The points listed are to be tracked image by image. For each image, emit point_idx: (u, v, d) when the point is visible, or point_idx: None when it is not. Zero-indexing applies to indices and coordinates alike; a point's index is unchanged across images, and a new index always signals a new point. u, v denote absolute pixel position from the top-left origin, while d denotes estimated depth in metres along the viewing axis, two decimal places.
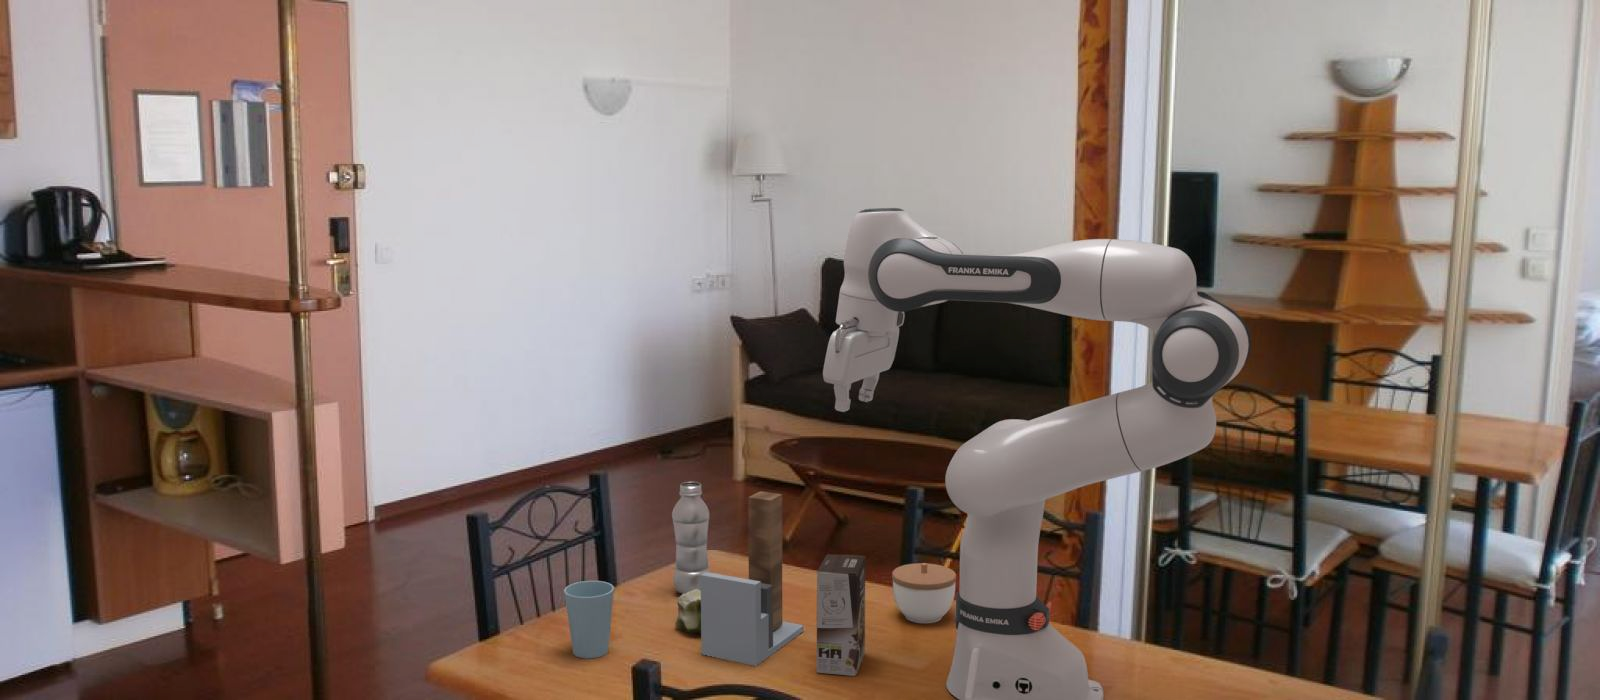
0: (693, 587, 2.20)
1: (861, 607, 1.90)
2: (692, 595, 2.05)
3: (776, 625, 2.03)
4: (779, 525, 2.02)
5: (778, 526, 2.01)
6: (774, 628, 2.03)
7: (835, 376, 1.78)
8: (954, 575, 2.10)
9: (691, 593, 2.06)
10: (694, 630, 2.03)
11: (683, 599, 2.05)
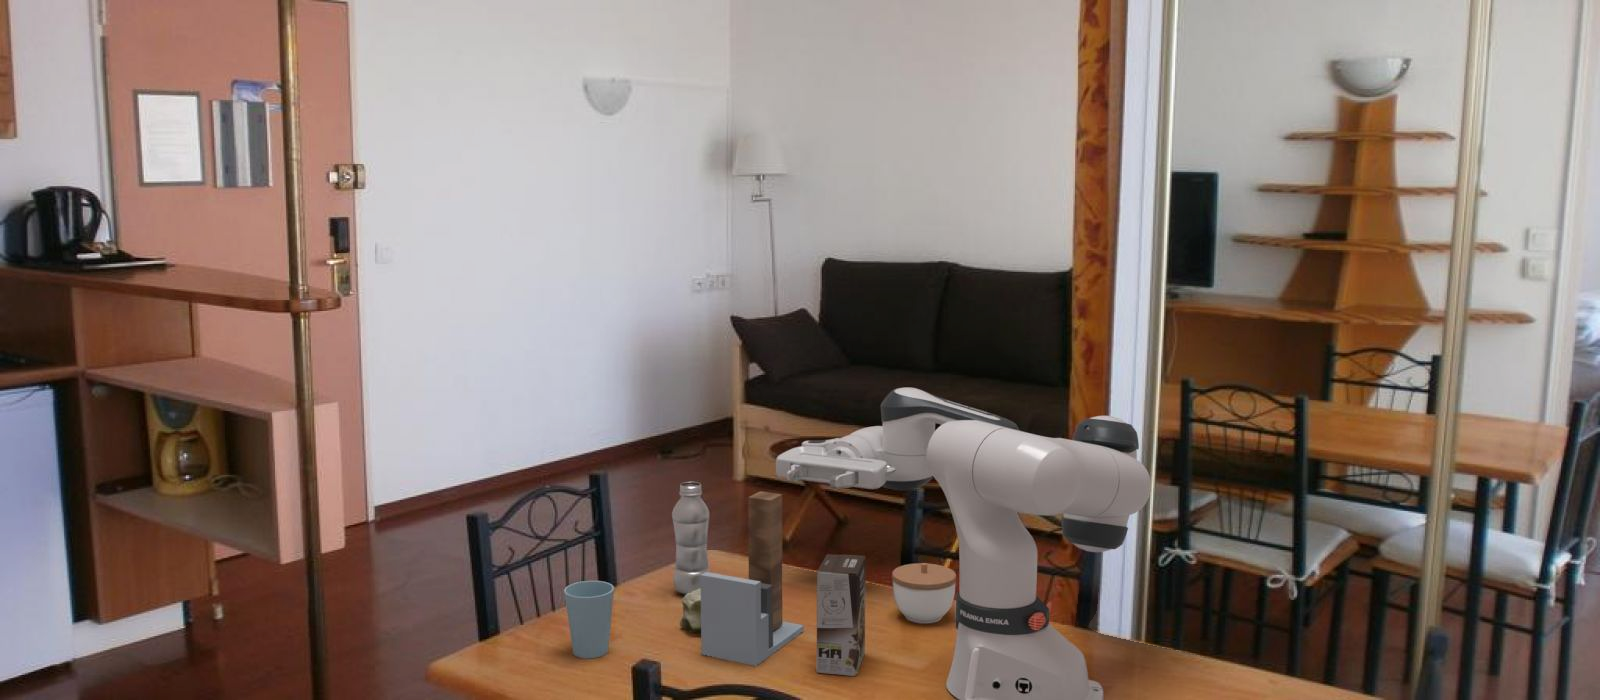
0: (693, 587, 2.20)
1: (861, 607, 1.90)
2: (697, 594, 2.05)
3: (776, 625, 2.03)
4: (779, 525, 2.02)
5: (778, 526, 2.01)
6: (774, 628, 2.03)
7: (879, 480, 2.16)
8: (954, 575, 2.10)
9: (696, 592, 2.06)
10: (699, 629, 2.03)
11: (688, 598, 2.06)
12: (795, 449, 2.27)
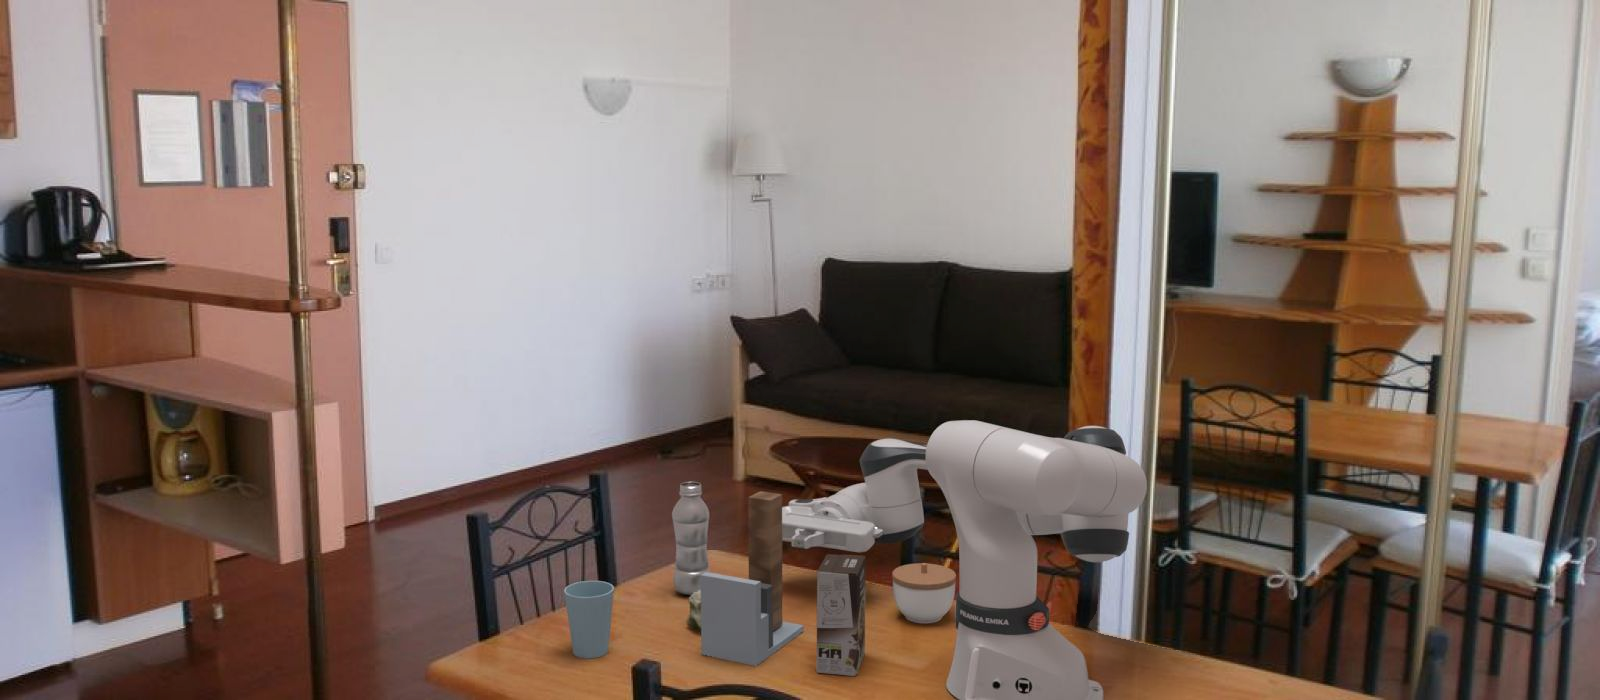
0: (693, 587, 2.20)
1: (861, 607, 1.90)
2: None
3: (776, 625, 2.03)
4: (779, 525, 2.02)
5: (778, 526, 2.01)
6: (774, 628, 2.03)
7: (867, 544, 2.14)
8: (954, 575, 2.10)
9: None
10: None
11: (695, 597, 2.06)
12: (782, 509, 2.25)
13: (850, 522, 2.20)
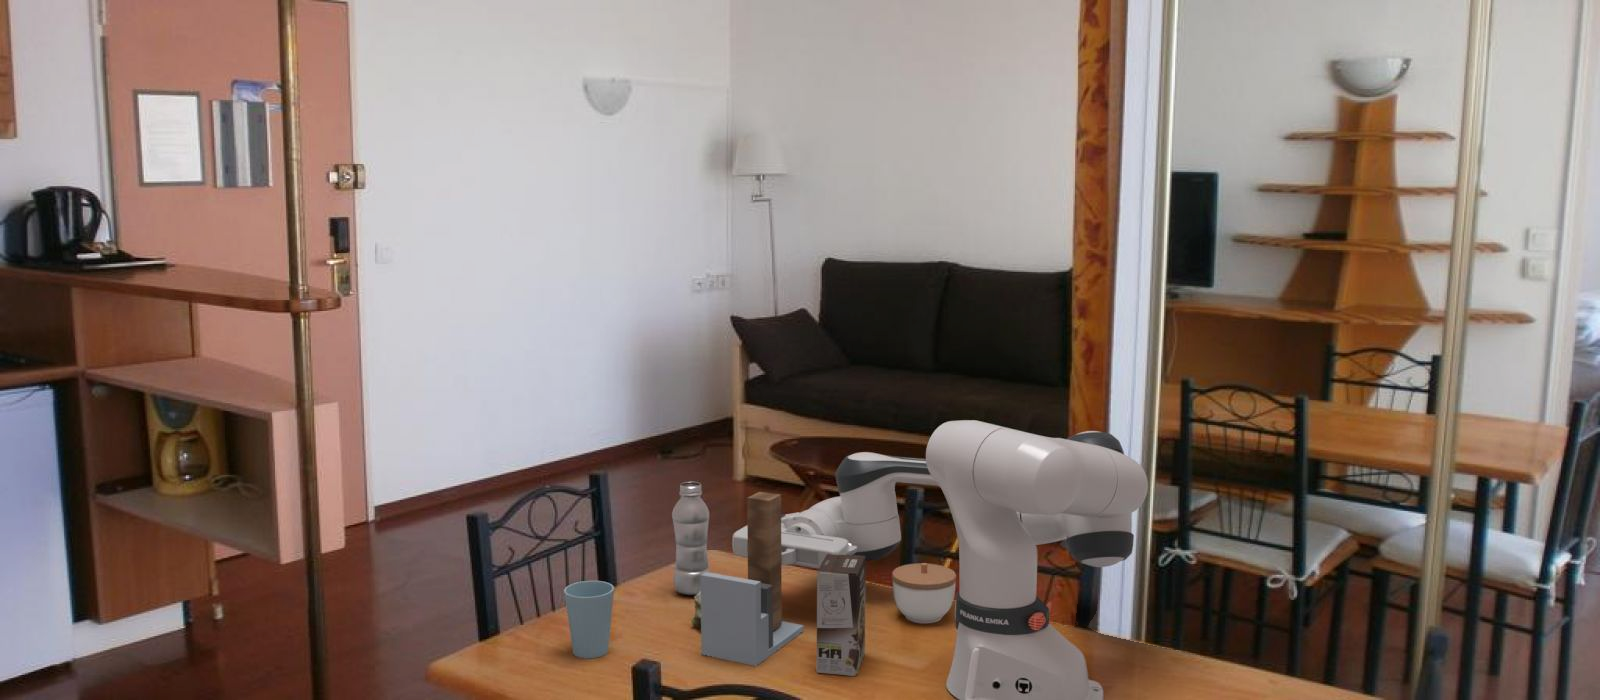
0: (693, 587, 2.20)
1: (861, 607, 1.90)
2: None
3: (775, 625, 2.03)
4: (778, 525, 2.01)
5: (778, 527, 2.01)
6: (773, 629, 2.02)
7: None
8: (954, 575, 2.10)
9: None
10: None
11: (700, 597, 2.06)
12: None
13: (823, 539, 2.11)
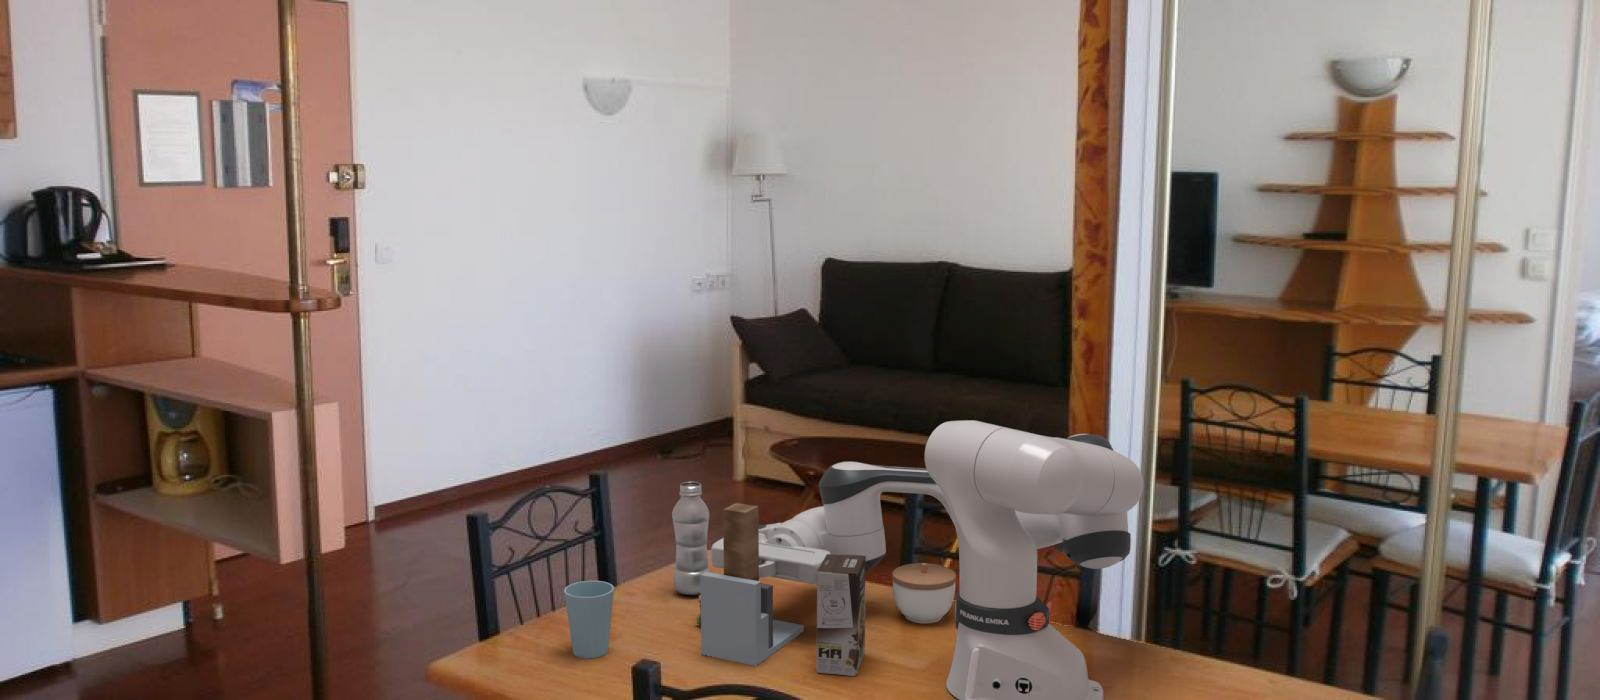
0: (693, 587, 2.20)
1: (861, 607, 1.90)
2: None
3: None
4: (755, 538, 1.95)
5: (755, 539, 1.95)
6: None
7: None
8: (954, 575, 2.10)
9: None
10: None
11: None
12: None
13: (804, 550, 2.04)
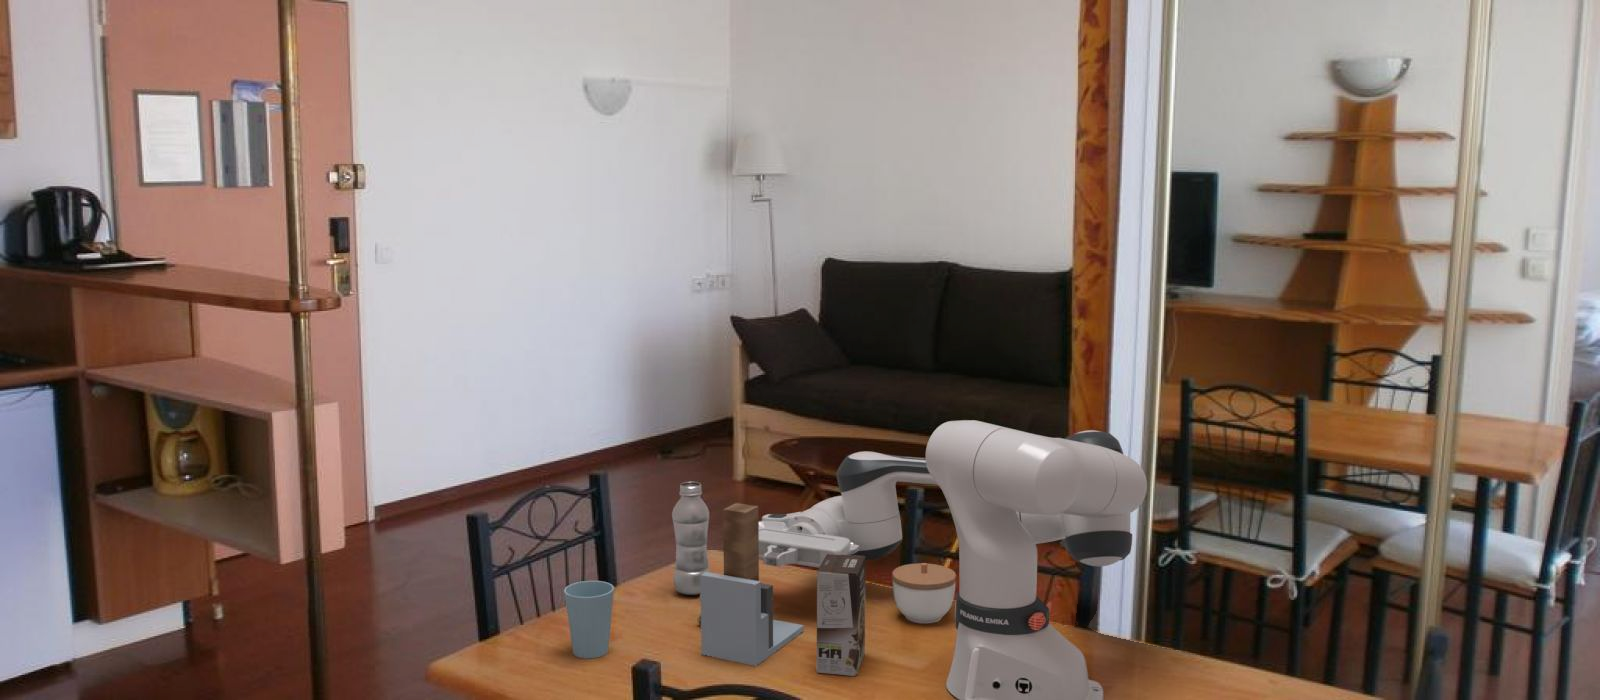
0: (693, 587, 2.20)
1: (861, 607, 1.90)
2: None
3: None
4: (755, 538, 1.95)
5: (755, 539, 1.95)
6: None
7: None
8: (954, 575, 2.10)
9: None
10: None
11: None
12: None
13: (825, 538, 2.12)
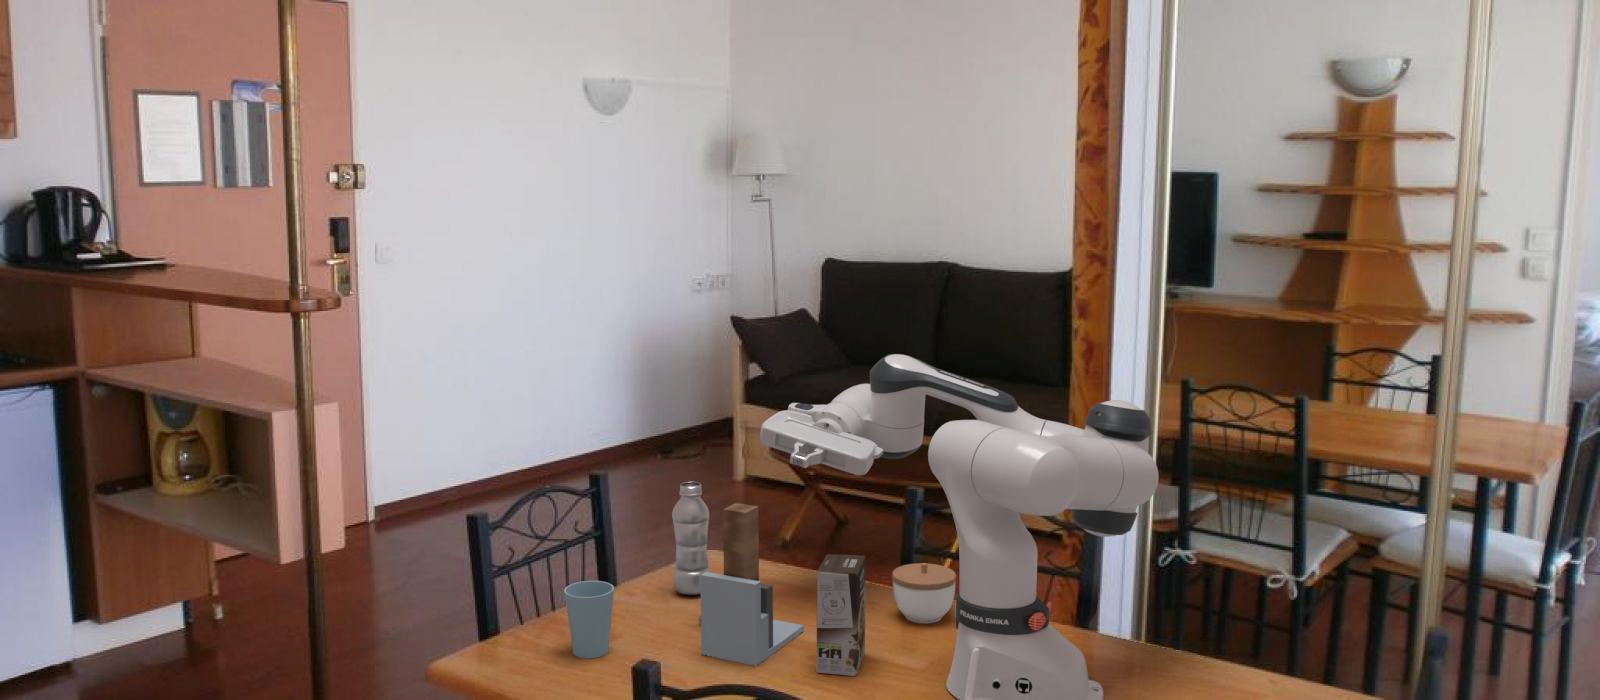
0: (693, 587, 2.20)
1: (861, 607, 1.90)
2: None
3: None
4: (755, 538, 1.95)
5: (755, 539, 1.95)
6: None
7: (866, 467, 2.10)
8: (954, 575, 2.10)
9: None
10: None
11: None
12: (781, 414, 2.19)
13: (851, 439, 2.15)
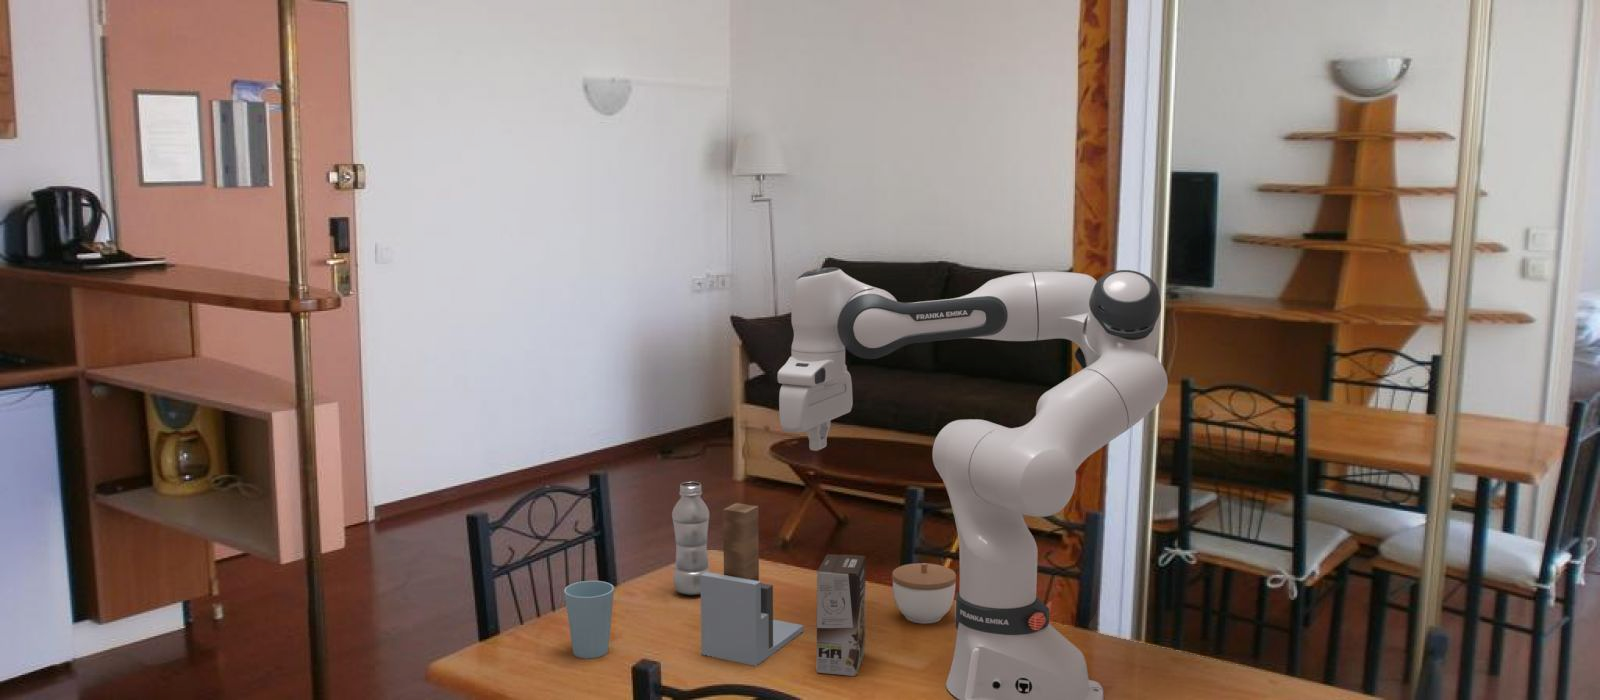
0: (693, 587, 2.20)
1: (861, 607, 1.90)
2: None
3: None
4: (755, 538, 1.95)
5: (755, 539, 1.95)
6: None
7: None
8: (954, 575, 2.10)
9: None
10: None
11: None
12: (807, 400, 1.98)
13: (840, 385, 2.10)
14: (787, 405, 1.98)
